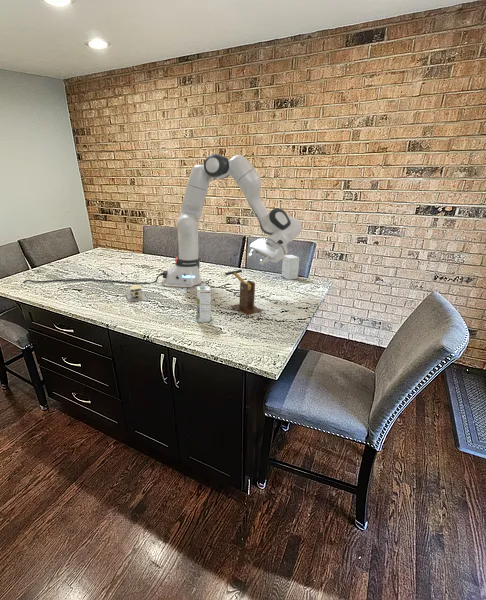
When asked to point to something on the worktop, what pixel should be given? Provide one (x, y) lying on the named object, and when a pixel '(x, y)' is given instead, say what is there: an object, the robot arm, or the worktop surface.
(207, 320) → the syrup box
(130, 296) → the stacked layers on plate
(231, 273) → the lever
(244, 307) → the bracket
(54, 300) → the worktop surface
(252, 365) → the worktop surface
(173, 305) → the worktop surface
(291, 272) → the small box
